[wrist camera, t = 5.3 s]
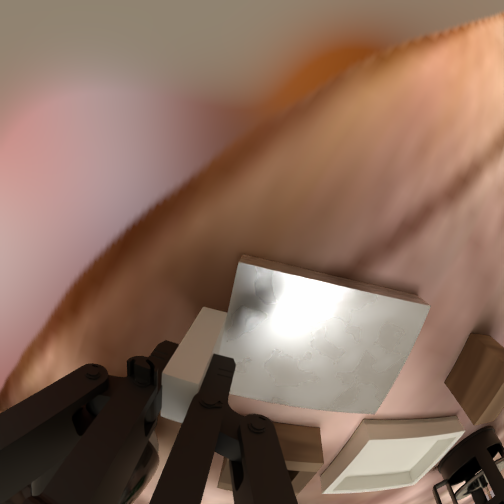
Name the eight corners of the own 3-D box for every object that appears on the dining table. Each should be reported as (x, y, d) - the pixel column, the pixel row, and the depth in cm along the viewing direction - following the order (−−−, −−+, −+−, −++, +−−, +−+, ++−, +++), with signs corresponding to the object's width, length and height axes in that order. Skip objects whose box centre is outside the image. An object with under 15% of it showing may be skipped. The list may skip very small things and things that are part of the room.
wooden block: (444, 382, 17) (473, 425, 11) (470, 333, 16) (510, 370, 10) (464, 382, 17) (493, 420, 11) (489, 335, 16) (527, 369, 10)
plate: (218, 368, 19) (211, 389, 17) (244, 252, 17) (238, 262, 15) (367, 393, 19) (374, 414, 16) (414, 292, 17) (430, 305, 14)
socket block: (224, 456, 21) (217, 487, 17) (237, 414, 19) (230, 451, 15) (293, 467, 21) (293, 498, 17) (319, 427, 19) (323, 463, 15)
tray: (320, 476, 21) (321, 493, 18) (363, 419, 19) (369, 439, 16) (408, 470, 20) (413, 485, 18) (456, 415, 18) (465, 430, 16)
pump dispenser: (73, 404, 22) (3, 489, 7) (93, 354, 20) (-16, 467, 5) (148, 457, 23) (101, 557, 8) (189, 422, 20) (134, 567, 5)
